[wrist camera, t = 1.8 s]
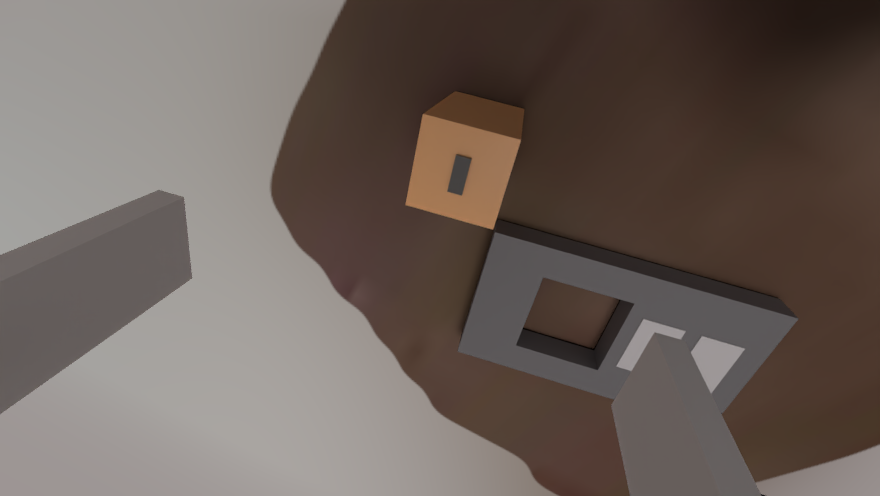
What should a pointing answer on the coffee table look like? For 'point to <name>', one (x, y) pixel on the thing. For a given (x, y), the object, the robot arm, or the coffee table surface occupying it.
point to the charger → (465, 158)
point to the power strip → (616, 315)
